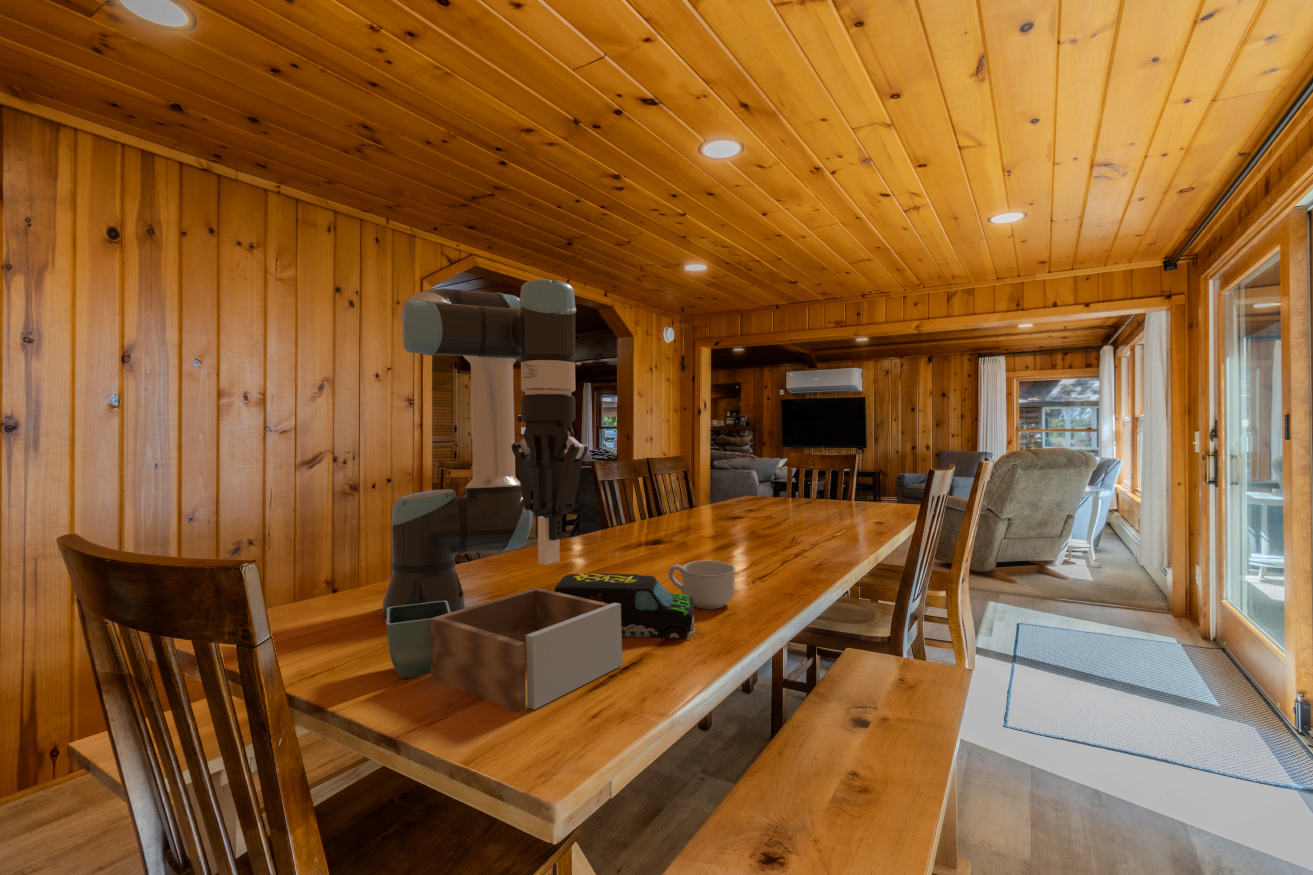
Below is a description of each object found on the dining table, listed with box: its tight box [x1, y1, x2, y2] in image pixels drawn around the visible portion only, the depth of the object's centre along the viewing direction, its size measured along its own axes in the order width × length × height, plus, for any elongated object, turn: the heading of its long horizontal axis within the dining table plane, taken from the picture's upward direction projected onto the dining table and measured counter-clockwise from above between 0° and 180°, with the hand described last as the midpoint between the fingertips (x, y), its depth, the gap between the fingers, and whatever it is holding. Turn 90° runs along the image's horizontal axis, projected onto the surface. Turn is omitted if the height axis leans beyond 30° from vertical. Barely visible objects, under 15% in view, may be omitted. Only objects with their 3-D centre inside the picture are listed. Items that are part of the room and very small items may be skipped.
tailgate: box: [525, 603, 623, 710], centre depth 82 cm, size 1×17×9 cm, turn 144°
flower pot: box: [385, 601, 451, 679], centre depth 90 cm, size 9×9×9 cm
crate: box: [430, 587, 609, 713], centre depth 88 cm, size 18×20×10 cm
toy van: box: [554, 573, 695, 640], centre depth 106 cm, size 11×25×10 cm, turn 87°
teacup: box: [667, 559, 736, 610], centre depth 125 cm, size 14×11×8 cm
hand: (548, 562), depth 85 cm, fingers closed
